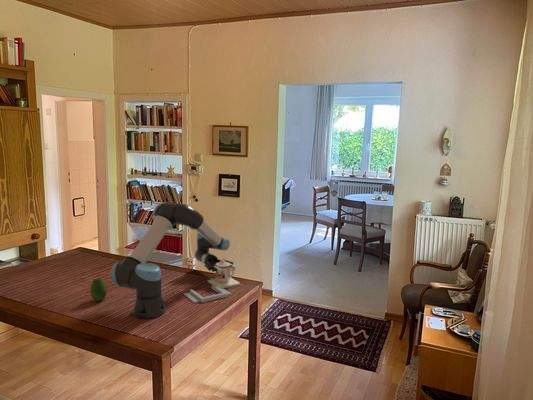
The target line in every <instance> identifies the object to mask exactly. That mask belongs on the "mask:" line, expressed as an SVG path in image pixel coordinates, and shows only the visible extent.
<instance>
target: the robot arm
mask: <svg viewBox="0 0 533 400" xmlns="http://www.w3.org/2000/svg"><path fill="white" fill-rule="evenodd" d="M152 219H153V223H152V224H151V226H150V227H149V229H148V230H147V231H146V232H145V234H144V235H143V237H142V238H141V240H140V241H139V242H138V244H137V245H136V247H135V249H133V251H132V252H131V254H130V255H126V256H125V257H124V259H123V260H122V261H117V262H115V263H114V264H113V265H112V267H111V268H110V269H111V270H110V279H111V282H112V283H113V284H114V285H115V286H118V287H120V288H127V289H131V290H134V291H135V292H136V299H135V302H134V305H133V308H132V315H133V316H134V317H135V318H137V319H144V320H145V319H148V320H150V319H155V318H158V317H160V316H163V315H164V314H165V312H166V305H165V302H164V298H163V296H162V270H161V267H160V266H159V265H157V264H156V263H151V262H148V261H149V259H150V258H151V256H152V254H154V251H155V250H156V249H157V247H158V245H159V244H160V243H161V241H162V239H163V238H164V236H165V235H166V233H167V232H168V231H171V230H172V229H173V228H174V226H176V225H177V226H178V225H180V226H186V227H188V228H189V229H192V230H195V231H196V232H197V233H196V235H197V237H196V246H197V247H196V251H195V252H194V258H195V259H196V260H197V261H198V262H200V263H202V264H203V267H205V268H206V269H207V271H208V272H212V273H214V272H215V273H216V272H217V273H219V274H221V269H220V268H218V267H216V266H215V264H216V263H218V262H221V260H225V262H228V263H230V265H231V266H230V269H233V271H234V272H236V270H237V269H236V265H234V261H230V260H228V259H225V258H222V259H219V258H218V257H217V256H216V255H214V254H212V253H210V249H213V250H218V251H219V250H220V251H227V250H228V249H230V245H231V243H230V240H229V238H226V237H222V236H221V235H220V234H219V233H218V232H217V231H216V230H215V229H214V228H213V227H212V226H211V225H210V224H209V223H208V222H207V221H206V220H204V216H203V215H202V214H201V213H200V212H199V211H198V210H196V209H195V208H194V207H193V206H190V205H189V204H185V203H177V202H169V201H164V202H163V201H162V202H159V203H158V204H157V205H156V206H155V208H154V209H153V218H152ZM147 262H148V263H147Z"/></svg>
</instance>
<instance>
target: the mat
mask: <svg viewBox="0 0 533 400" xmlns="http://www.w3.org/2000/svg"><path fill="white" fill-rule="evenodd" d="M207 283H208V284H210V285H211V286H212V285H215V286H217V287H218V288H224V289H227V288H230V287H235V286H240V285H241V282H239V281H238V280H236V279H234V278H232V277H230V280H228V281H217V280H216V278H211V279H207Z"/></svg>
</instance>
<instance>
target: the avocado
mask: <svg viewBox="0 0 533 400" xmlns="http://www.w3.org/2000/svg"><path fill="white" fill-rule="evenodd" d="M107 294H108V290H107V285H106V284H105V282H104V280H103V279H102V278H100V277H95V278H94V279H93V280H92V283H91V287H90V295H91V298H92V299H93V301H94V300H95V301H97V302H98V301H103V300H104V299H105V298H106V297H107V296H108V295H107Z"/></svg>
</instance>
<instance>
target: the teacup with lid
mask: <svg viewBox="0 0 533 400" xmlns="http://www.w3.org/2000/svg"><path fill="white" fill-rule="evenodd" d="M220 260H221V262H218V263H216V264H215V266H216V267H218V268H220V269H221V274H219V273H217V272H216V271H215V279H216V280H217V281H228V280H230V277H231V278H232V277H233V276H234V274H235V271H234V270H233V269H230V266H231V265H230V263H228V262H225V260H226V259H225V260H223V259H220Z"/></svg>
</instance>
